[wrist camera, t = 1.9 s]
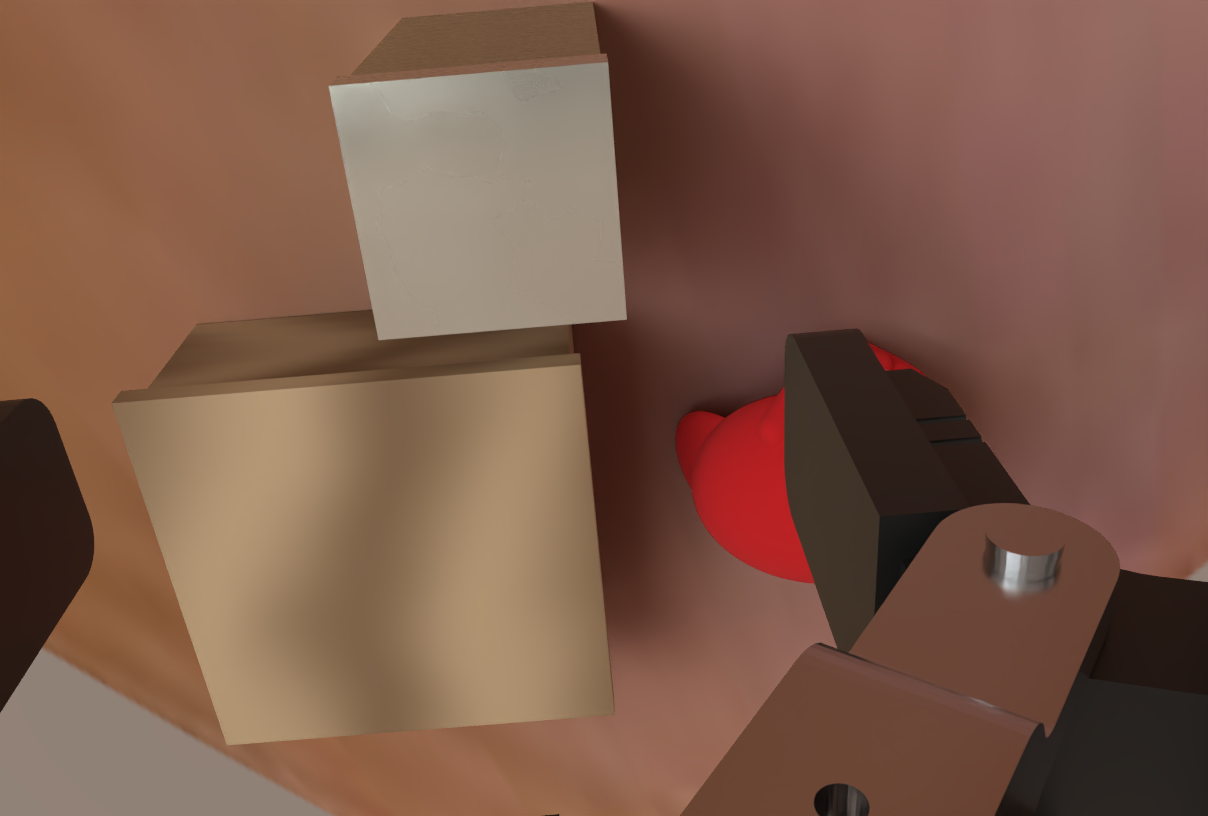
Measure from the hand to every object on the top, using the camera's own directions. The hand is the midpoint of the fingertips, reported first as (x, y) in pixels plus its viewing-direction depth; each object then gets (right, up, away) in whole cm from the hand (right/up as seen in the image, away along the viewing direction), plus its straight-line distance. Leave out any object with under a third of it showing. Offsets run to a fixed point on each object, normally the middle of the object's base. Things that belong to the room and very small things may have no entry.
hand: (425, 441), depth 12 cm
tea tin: (0, +8, +14) cm, 16 cm away
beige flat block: (-4, -1, +19) cm, 20 cm away
